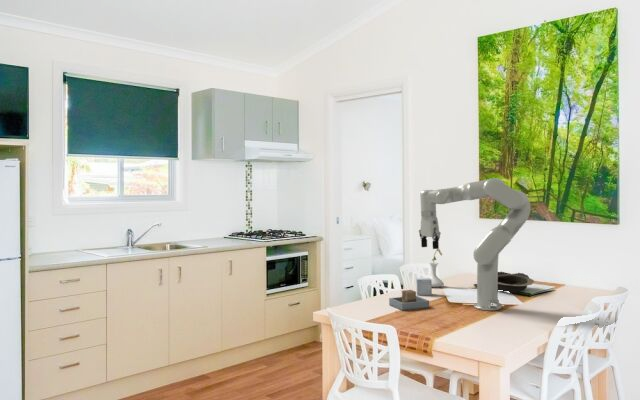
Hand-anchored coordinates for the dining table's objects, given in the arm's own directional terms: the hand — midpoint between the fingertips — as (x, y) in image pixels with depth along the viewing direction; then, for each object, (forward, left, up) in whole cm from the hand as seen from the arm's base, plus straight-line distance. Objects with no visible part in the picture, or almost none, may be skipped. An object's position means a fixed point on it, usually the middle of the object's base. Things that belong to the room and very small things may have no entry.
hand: (430, 247), depth 270 cm
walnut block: (-3, +14, -27) cm, 31 cm away
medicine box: (+17, -7, -28) cm, 34 cm away
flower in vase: (+33, -24, -28) cm, 50 cm away
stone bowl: (+5, -55, -28) cm, 62 cm away
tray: (-3, +14, -28) cm, 31 cm away
